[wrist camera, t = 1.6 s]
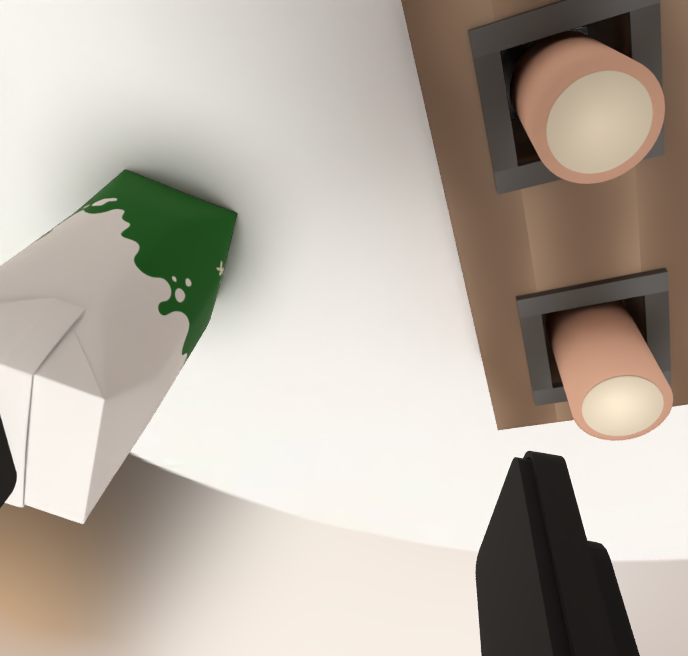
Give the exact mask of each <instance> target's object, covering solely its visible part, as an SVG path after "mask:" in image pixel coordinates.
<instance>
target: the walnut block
mask: <svg viewBox="0 0 688 656" xmlns="http://www.w3.org/2000/svg"><path fill="white" fill-rule="evenodd" d="M401 1H402V6H403V10H404V15H405V19H406V24H407V28H408V32H409V37H410V41H411V46H412V50H413V55H414V59H415V64H416V68H417V72H418V77H419V81H420V86H421V90H422V95H423V99H424V104H425V108H426V112H427V117H428V121H429V126H430V130H431V135H432V139H433V144H434V148H435V152H436V157H437V161H438V166H439V170H440V175H441V179H442V184H443V188H444V192H445V197H446V201H447V206H448V210H449V215H450V219H451V223H452V228H453V232H454V237H455V241H456V246H457V250H458V255H459V259H460V263H461V268H462V272H463V277H464V281H465V286H466V290H467V295H468V299H469V303H470V308H471V312H472V317H473V321H474V326H475V330H476V335H477V339H478V343H479V348H480V352H481V357H482V361H483V366H484V370H485V375H486V379H487V383H488V388H489V392H490V397H491V401H492V406H493V410H494V415H495V419H496V423H497V428H498V430H503V429H510V428H517V427H525V426H532V425H540V424H547V423H554V422H562V421H569V420H574V418H573V416H572V412H571V409H570V406H569V402H568V399H567V396H566V392H565V389H564V386H563V383H562V379H561V376H560V373H559V369H558V366H557V363H556V359H555V356H554V353H553V349H552V346H551V343H550V340H549V336H548V333H547V329H546V323H545V321H546V315H547V313H551V312H556V311H562V310H567V309H573V308H578V307H583V306H589V305H594V304H600V303H605V302H611V301H616V300H623V302H624V304H625V306H626V307H627V309H628V311H629V313H630V315H631V317H632V318H633V320H634V322H635V324H636V326H637V328H638V329H639V331H640V333H641V335H642V337H643V338H644V340H645V342H646V344H647V346H648V348H649V349H650V351H651V353H652V355H653V357H654V359H655V360H656V362H657V364H658V366H659V368H660V369H661V371H662V373H663V375H664V377H665V379H666V380H667V382H668V384H669V386H670V388H671V390H672V393H673V404H672V406H680V405H687V404H688V0H401ZM584 25H588V36H589V37H591V38H593V39H595V40H597V41H599V42H601V43H603V44H604V45H606V46H608V47H610V48H612V49H614V50H616V51H618V52H620V53H622V54H624V55H625V56H627V57H629V58H631V59H633V60H635V61H637V62H639V63H640V64H642V65H644V66H645V67H646V68H648V69H649V70H650V71H651V72H652V73H653V74H654V76H655V77H656V79H657V80H658V82H659V84H660V86H661V88H662V91H663V95H664V101H665V116H664V121H663V125H662V128H661V131H660V134H659V136H658V138H657V140H656V142H655V143H654V145H653V147H652V148H651V150H650V151H649V152H648V153H647V155H646V156H645V157H644V158H643V159H642V160H641V161H640V162H639V163H638V164H637V165H635V166H634V167H633V168H631V169H630V170H629V171H627V172H625V173H624V174H622V175H620V176H618V177H616V178H613V179H611V180H607V181H604V182H599V183H592V184H581V183H574V182H570V181H567V180H564V179H562V178H560V177H558V176H556V175H555V174H553V173H552V172H551V171H550V170H549V169H548V168H547V167H546V166H545V165H544V164H543V162H542V161H541V159H540V157H539V156H538V154H537V152H536V150H535V148H534V146H533V144H532V142H531V140H530V138H529V137H528V135H527V133H526V131H525V129H524V127H523V125H522V123H521V121H520V119H517V120H514V121H511V118H510V112H509V105H508V99H507V92H506V86H505V80H504V73H503V67H502V60H501V54H500V51H502V50H505V49H508V48H512V47H515V46H518V45H521V44H525V43H528V42H531V41H535V40H538V39H541V38H544V37H548V36H551V35H554V34H558V33H561V32H564V31H568V30H571V29H574V28H577V27H581V26H584Z"/></svg>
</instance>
